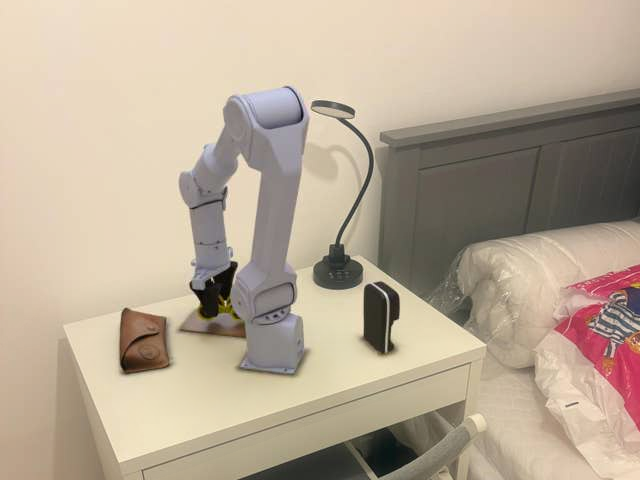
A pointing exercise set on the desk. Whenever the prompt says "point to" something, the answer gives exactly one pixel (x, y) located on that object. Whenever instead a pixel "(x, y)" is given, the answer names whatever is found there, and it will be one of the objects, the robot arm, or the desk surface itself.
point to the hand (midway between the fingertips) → (218, 307)
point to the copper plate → (215, 325)
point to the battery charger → (380, 315)
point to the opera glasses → (220, 310)
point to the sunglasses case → (142, 341)
